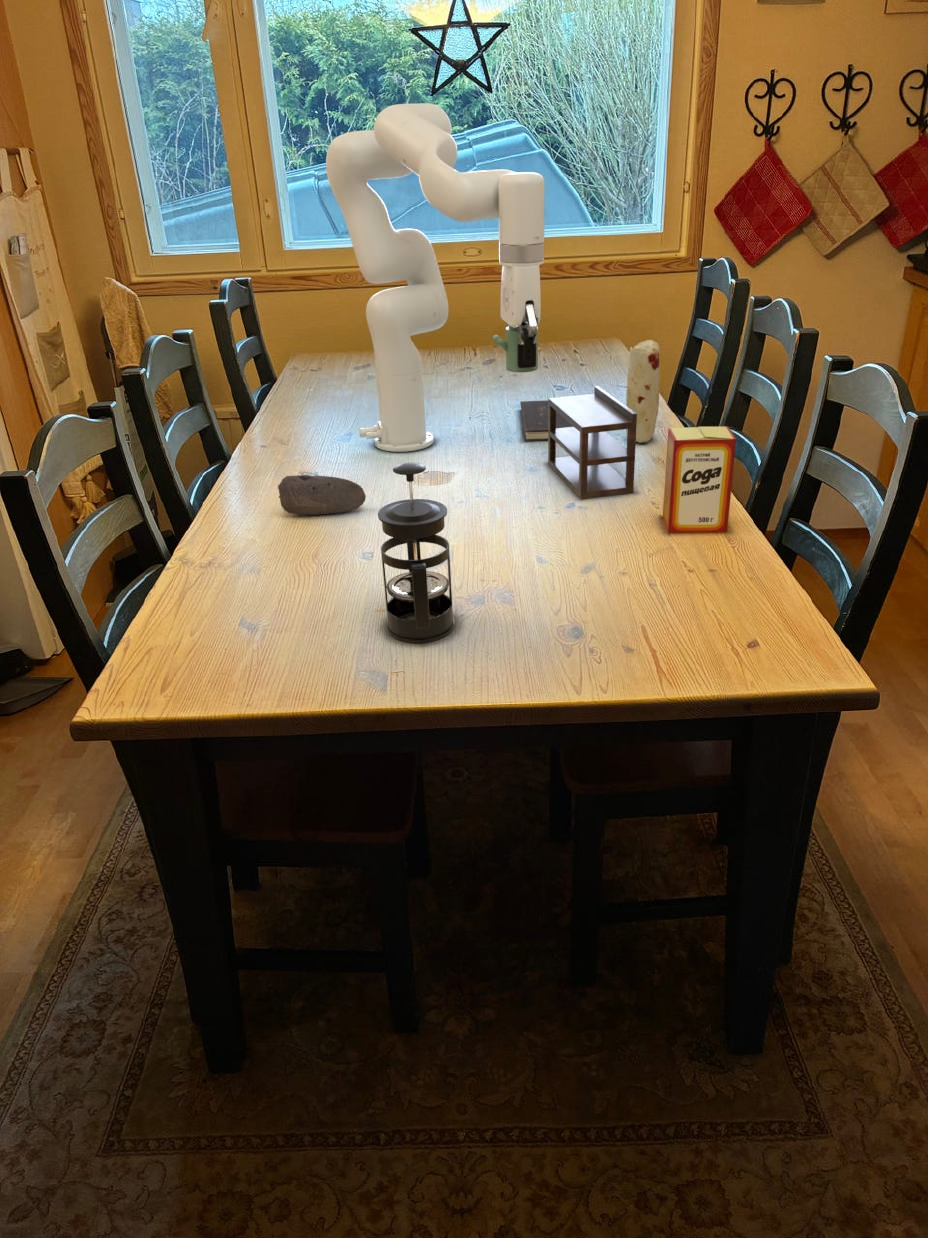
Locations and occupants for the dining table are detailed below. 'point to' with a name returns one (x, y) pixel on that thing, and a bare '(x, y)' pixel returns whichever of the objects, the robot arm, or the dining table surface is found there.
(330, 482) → the perforated stone tool
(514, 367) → the kettle
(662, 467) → the dining table surface
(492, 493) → the dining table surface
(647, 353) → the food model
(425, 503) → the french press
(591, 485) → the stand
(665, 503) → the baking soda box
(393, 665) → the dining table surface
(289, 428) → the dining table surface
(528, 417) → the hardcover book
